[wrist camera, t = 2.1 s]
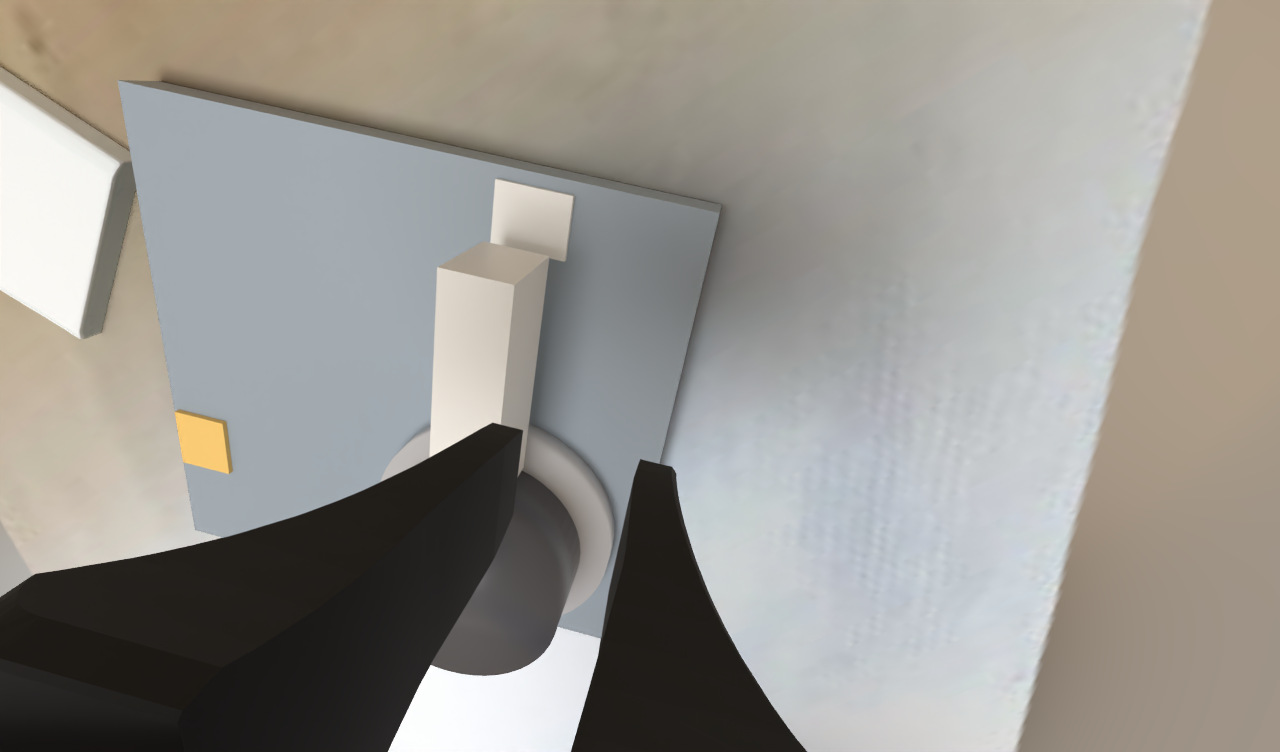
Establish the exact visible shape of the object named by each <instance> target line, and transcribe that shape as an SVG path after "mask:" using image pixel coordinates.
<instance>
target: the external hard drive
mask: <svg viewBox="0 0 1280 752" xmlns="http://www.w3.org/2000/svg"><path fill="white" fill-rule="evenodd" d="M135 190H136V183H135V177H134V172H133V166H132V160H131V154H130V151H128V150H127V149H125V148H124V147H122V146H121V145H119V144H118V143H116V142H114V141H113V140H111V139H110V138H108V137H107V136H105V135H104V134H102V133H101V132H99V131H98V130H96V129H95V128H93V127H92V126H90V125H89V124H87V123H86V122H84V121H83V120H81V119H79V118H78V117H76V116H75V115H73V114H72V113H70V112H69V111H67V110H66V109H64V108H63V107H61V106H60V105H58V104H57V103H55V102H53V101H52V100H50V99H49V98H47V97H46V96H44V95H43V94H41V93H40V92H38V91H37V90H35V89H34V88H32V87H31V86H29V85H28V84H26V83H25V82H23V81H22V80H20V79H19V78H17V77H16V76H14V75H13V74H11V73H10V72H8V71H6V70H5V69H3V68H2V67H0V290H1V291H3V292H4V293H6V294H8V295H9V296H11V297H13V298H14V299H16V300H18V301H19V302H21V303H22V304H24V305H26V306H27V307H29V308H30V309H32V310H34V311H35V312H37V313H39V314H40V315H42V316H44V317H45V318H47V319H48V320H50V321H52V322H53V323H55V324H57V325H58V326H60V327H62V328H63V329H65V330H66V331H68V332H69V333H71V334H73V335H74V336H76V337H77V338H80V339H86V338H89V337H91V336H94V335H97V334H100V333H101V332H102V328H103V323H104V319H105V315H106V311H107V306H108V302H109V298H110V294H111V290H112V285H113V281H114V277H115V273H116V269H117V265H118V260H119V256H120V252H121V248H122V244H123V239H124V235H125V231H126V227H127V223H128V219H129V215H130V210H131V206H132V202H133V198H134V194H135Z"/></svg>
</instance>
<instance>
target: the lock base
mask: <svg viewBox="0 0 1280 752" xmlns="http://www.w3.org/2000/svg"><path fill="white" fill-rule="evenodd" d="M118 84H119V90H120V96H121V102H122V108H123V114H124V119H125V125H126V131H127V137H128V143H129V148H130V154H131V160H132V166H133V172H134V177H135V183H136V189H137V195H138V201H139V206H140V212H141V218H142V224H143V230H144V236H145V241H146V247H147V253H148V259H149V265H150V270H151V276H152V282H153V288H154V294H155V299H156V305H157V311H158V317H159V323H160V328H161V334H162V340H163V346H164V352H165V357H166V363H167V369H168V375H169V381H170V387H171V392H172V398H173V404H174V410H175V416H176V422H177V428H178V434H179V440H180V445H181V451H182V457H183V462H184V468H185V474H186V479H187V485H188V491H189V497H190V503H191V508H192V514H193V520H194V526H195V530H197V531H201V532H205V533H208V534H212V535H216V536H220V537H223V538H224V537H228V536H232V535H235V534H239V533H242V532H245V531H249V530H252V529H255V528H258V527H262V526H265V525H268V524H272V523H275V522H278V521H282V520H285V519H288V518H291V517H295V516H298V515H300V514H303V513H306V512H309V511H312V510H314V509H317V508H320V507H322V506H325V505H328V504H330V503H333V502H336V501H338V500H341V499H343V498H346V497H348V496H351V495H353V494H355V493H358V492H360V491H362V490H365V489H367V488H369V487H371V486H373V485H375V484H377V483H379V482H381V481H384V480H386V479H388V478H390V477H392V476H394V475H396V474H398V473H400V472H402V471H404V470H407V469H409V468H411V467H413V466H415V465H417V464H418V463H420V462H422V461H424V460H426V459H428V458H429V455H430V431H431V406H432V382H433V357H434V332H435V308H436V283H437V267H438V266H440V265H442V264H444V263H446V262H447V261H449V260H451V259H453V258H454V257H456V256H458V255H460V254H462V253H463V252H465V251H467V250H469V249H471V248H472V247H474V246H476V245H478V244H479V243H481V242H483V241H485V242H489V243H494V244H498V245H503V246H507V247H511V248H516V249H520V250H524V251H529V252H533V253H538V254H542V255H546V256H550V257H549V265H548V273H547V281H546V289H545V297H544V305H543V313H542V322H541V330H540V338H539V346H538V354H537V362H536V370H535V378H534V386H533V395H532V403H531V411H530V419H529V427H528V435H527V443H526V451H525V460H524V468H523V469H522V471H524V472H526V473H527V474H529V475H531V476H533V477H534V478H535V479H537V480H538V481H540V482H541V483H543V484H544V485H545V486H546V487H547V488H548V489H549V490H551V491H552V492H553V493H554V494H555V495H556V497H557V498H558V499H559V500H560V501H561V502H562V504H563V505H564V506H565V508H566V509H567V511H568V512H569V514H570V516H571V518H572V520H573V521H574V524H575V527H576V529H577V532H578V536H579V541H580V552H581V553H580V562H579V566H578V569H577V573H576V575H575V578H574V581H573V584H572V587H571V590H570V592H569V595H568V598H567V601H566V604H565V607H564V609H563V612H562V615H561V618H560V621H559V624H558V626H557V627H561V628H564V629H568V630H572V631H576V632H579V633H583V634H587V635H591V636H594V637H598V638H601V636H602V630H603V623H604V617H605V611H606V605H607V599H608V593H609V587H610V583H611V578H612V574H613V569H614V565H615V560H616V556H617V551H618V547H619V542H620V538H621V533H622V529H623V524H624V520H625V515H626V511H627V506H628V502H629V497H630V493H631V488H632V483H633V479H634V476H635V473H636V469H637V466H638V464H639V461H640V459H642V460H646V461H650V462H654V463H658V464H660V460H661V455H662V451H663V447H664V443H665V439H666V435H667V430H668V426H669V422H670V418H671V414H672V410H673V406H674V401H675V397H676V393H677V389H678V385H679V381H680V376H681V372H682V368H683V364H684V360H685V356H686V352H687V347H688V343H689V339H690V335H691V331H692V327H693V322H694V318H695V314H696V310H697V306H698V302H699V298H700V293H701V289H702V285H703V281H704V277H705V273H706V268H707V264H708V260H709V256H710V252H711V248H712V244H713V239H714V235H715V231H716V227H717V223H718V219H719V214H720V210H721V205H720V204H716V203H711V202H707V201H702V200H698V199H693V198H688V197H684V196H679V195H675V194H670V193H666V192H661V191H657V190H652V189H647V188H643V187H638V186H634V185H629V184H625V183H620V182H616V181H611V180H606V179H602V178H597V177H593V176H588V175H584V174H579V173H575V172H570V171H566V170H561V169H556V168H552V167H547V166H543V165H538V164H534V163H529V162H525V161H520V160H515V159H511V158H506V157H502V156H497V155H493V154H488V153H484V152H479V151H474V150H470V149H465V148H461V147H456V146H452V145H447V144H443V143H438V142H434V141H429V140H424V139H420V138H415V137H411V136H406V135H402V134H397V133H393V132H388V131H383V130H379V129H374V128H370V127H365V126H361V125H356V124H352V123H347V122H342V121H338V120H333V119H329V118H324V117H320V116H315V115H311V114H306V113H302V112H297V111H292V110H288V109H283V108H279V107H274V106H270V105H265V104H261V103H256V102H251V101H247V100H242V99H238V98H233V97H229V96H224V95H220V94H215V93H210V92H206V91H201V90H197V89H192V88H188V87H183V86H179V85H174V84H170V83H165V82H160V81H123V80H118Z"/></svg>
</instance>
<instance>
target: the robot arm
mask: <svg viewBox="0 0 1280 752" xmlns="http://www.w3.org/2000/svg"><path fill="white" fill-rule="evenodd" d="M522 436H523V430H521V429H517V428H513V427H508V426H504V425H500V424H496V423H491V424H489V425H487V426H485V427H483V428H481V429H480V430H478V431H476V432H474V433H473V434H471V435H469V436H467V437H465V438H464V439H462V440H460V441H458V442H457V443H455V444H453V445H451V446H450V447H448V448H446V449H444V450H442V451H441V452H439V453H437V454H435V455H433V456H431V457H430V458H428V459H426V460H424V461H422V462H420V463H418V464H417V465H415V466H413V467H411V468H409V469H407V470H404V471H402V472H400V473H398V474H396V475H394V476H392V477H390V478H388V479H386V480H384V481H381V482H379V483H377V484H375V485H373V486H371V487H369V488H367V489H365V490H362V491H360V492H358V493H355V494H353V495H351V496H348V497H346V498H343V499H341V500H338V501H336V502H333V503H330V504H328V505H325V506H322V507H320V508H317V509H314V510H312V511H309V512H306V513H303V514H300V515H298V516H295V517H291V518H288V519H285V520H282V521H278V522H275V523H272V524H268V525H265V526H262V527H258V528H255V529H252V530H249V531H245V532H242V533H239V534H235V535H232V536H228V537H224V538H220V539H216V540H212V541H208V542H204V543H200V544H196V545H192V546H187V547H183V548H178V549H174V550H169V551H165V552H160V553H156V554H151V555H146V556H141V557H135V558H130V559H124V560H118V561H112V562H107V563H101V564H95V565H89V566H83V567H77V568H71V569H65V570H59V571H52V572H45V573H38V574H35V575H33V576H31V577H30V578H28V579H27V580H25V581H24V582H22V583H21V584H19V585H18V586H16V587H15V588H13V589H12V590H11V591H9V592H7V593H6V594H5V595H3V596H1V597H0V752H388V750H389V748H390V746H391V743H392V741H393V739H394V737H395V735H396V733H397V731H398V729H399V727H400V724H401V722H402V720H403V718H404V716H405V714H406V712H407V710H408V708H409V706H410V704H411V702H412V699H413V697H414V695H415V693H416V691H417V689H418V687H419V685H420V683H421V681H422V679H423V678H424V676H425V674H426V672H427V670H428V668H429V667H430V665H431V663H432V661H433V659H434V658H435V656H436V655H437V653H438V651H439V650H440V648H441V646H442V645H443V643H444V641H445V640H446V638H447V636H448V635H449V633H450V631H451V630H452V628H453V626H454V625H455V623H456V622H457V620H458V618H459V617H460V615H461V613H462V612H463V610H464V608H465V607H466V605H467V603H468V602H469V600H470V598H471V597H472V595H473V594H474V592H475V590H476V589H477V587H478V585H479V583H480V582H481V580H482V578H483V577H484V575H485V573H486V572H487V570H488V568H489V567H490V565H491V563H492V562H493V560H494V558H495V555H496V553H497V551H498V549H499V547H500V544H501V542H502V540H503V538H504V535H505V533H506V531H507V528H508V526H509V524H510V521H511V519H512V517H513V512H514V503H515V495H516V487H517V478H518V470H519V461H520V453H521V445H522ZM571 752H807V751H806V750H805V749H804V748H803V746H802V745H801V744H800V743H799V741H798V740H797V739H796V738H795V736H794V735H793V734H792V733H791V731H790V730H789V729H788V727H787V726H786V724H785V723H784V722H783V720H782V719H781V717H780V716H779V715H778V713H777V712H776V710H775V709H774V708H773V706H772V705H771V703H770V702H769V700H768V698H767V697H766V695H765V694H764V692H763V691H762V689H761V687H760V686H759V684H758V683H757V681H756V679H755V678H754V676H753V675H752V673H751V672H750V670H749V668H748V667H747V665H746V664H745V662H744V660H743V659H742V657H741V656H740V654H739V652H738V650H737V648H736V647H735V645H734V643H733V641H732V639H731V637H730V636H729V634H728V632H727V630H726V628H725V626H724V624H723V622H722V620H721V618H720V616H719V614H718V612H717V610H716V608H715V606H714V603H713V601H712V599H711V597H710V595H709V592H708V590H707V587H706V585H705V583H704V580H703V577H702V575H701V572H700V570H699V567H698V565H697V562H696V559H695V556H694V553H693V550H692V547H691V544H690V540H689V537H688V534H687V530H686V527H685V524H684V520H683V516H682V512H681V507H680V502H679V497H678V491H677V482H676V472H675V471H674V469H673V468H672V467H670V466H666V465H662V464H658V463H654V462H650V461H646V460H642V459H640V461H639V464H638V466H637V469H636V473H635V476H634V479H633V483H632V488H631V493H630V497H629V502H628V506H627V511H626V515H625V520H624V524H623V529H622V533H621V538H620V542H619V547H618V551H617V556H616V560H615V565H614V569H613V574H612V578H611V583H610V587H609V593H608V599H607V605H606V611H605V617H604V623H603V630H602V636H601V642H600V648H599V654H598V659H597V662H596V666H595V669H594V673H593V676H592V680H591V684H590V687H589V691H588V694H587V698H586V701H585V705H584V708H583V712H582V715H581V719H580V722H579V726H578V729H577V733H576V736H575V740H574V743H573V746H572V750H571Z"/></svg>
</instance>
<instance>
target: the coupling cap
mask: <svg viewBox="0 0 1280 752" xmlns="http://www.w3.org/2000/svg"><path fill="white" fill-rule="evenodd" d="M549 257H550V256H546V255H542V254H538V253H533V252H529V251H524V250H520V249H516V248H511V247H507V246H503V245H498V244H494V243H489V242H485V241H483V242H481V243H479V244H478V245H476V246H474V247H472V248H471V249H469V250H467V251H465V252H463V253H462V254H460V255H458V256H456V257H454V258H453V259H451V260H449V261H447V262H446V263H444V264H442V265H440V266H438V267H437V283H436V308H435V332H434V357H433V382H432V406H431V431H430V455H429V458H430V457H431V456H433V455H435V454H437V453H439V452H441V451H442V450H444V449H446V448H448V447H450V446H451V445H453V444H455V443H457V442H458V441H460V440H462V439H464V438H465V437H467V436H469V435H471V434H473V433H474V432H476V431H478V430H480V429H481V428H483V427H485V426H487V425H489V424H491V423H496V424H500V425H504V426H508V427H513V428H517V429H521V430H523V436H522V445H521V453H520V461H519V470H518V478H517V487H516V495H515V503H514V512H513V517H512V519H511V521H510V524H509V526H508V528H507V531H506V533H505V535H504V538H503V540H502V542H501V544H500V547H499V549H498V551H497V553H496V555H495V558H494V560H493V562H492V563H491V565H490V567H489V568H488V570H487V572H486V573H485V575H484V577H483V578H482V580H481V582H480V583H479V585H478V587H477V589H476V590H475V592H474V594H473V595H472V597H471V598H470V600H469V602H468V603H467V605H466V607H465V608H464V610H463V612H462V613H461V615H460V617H459V618H458V620H457V622H456V623H455V625H454V626H453V628H452V630H451V631H450V633H449V635H448V636H447V638H446V640H445V641H444V643H443V645H442V646H441V648H440V650H439V651H438V653H437V655H436V656H435V658H434V659H433V661H432V663H431V665H433V666H435V667H438V668H441V669H444V670H448V671H452V672H456V673H461V674H468V675H482V676H487V675H499V674H504V673H509V672H512V671H515V670H519V669H521V668H523V667H525V666H527V665H529V664H530V663H532V662H533V661H535V660H536V659H538V658H539V657H540V656H541V655H542V654H543V653H544V652H545V650H546V649H547V648H548V646H549V645H550V643H551V641H552V639H553V637H554V635H555V632H556V629H557V626H558V624H559V621H560V618H561V615H562V612H563V609H564V607H565V604H566V601H567V598H568V595H569V592H570V590H571V587H572V584H573V581H574V578H575V575H576V573H577V569H578V566H579V562H580V553H581V552H580V541H579V536H578V532H577V529H576V527H575V524H574V521H573V520H572V518H571V516H570V514H569V512H568V511H567V509H566V508H565V506H564V505H563V504H562V502H561V501H560V500H559V499H558V498H557V497H556V495H555V494H554V493H553V492H552V491H551V490H549V489H548V488H547V487H546V486H545V485H544V484H543V483H541V482H540V481H538V480H537V479H535V478H534V477H533V476H531V475H529V474H527V473H526V472H524V471H522V469H523V468H524V460H525V451H526V443H527V435H528V427H529V419H530V411H531V403H532V395H533V386H534V378H535V370H536V362H537V354H538V346H539V338H540V330H541V322H542V313H543V305H544V297H545V289H546V281H547V273H548V265H549Z"/></svg>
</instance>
